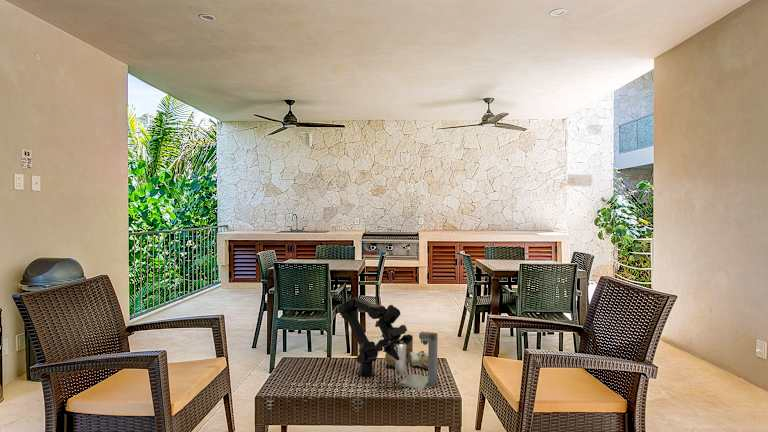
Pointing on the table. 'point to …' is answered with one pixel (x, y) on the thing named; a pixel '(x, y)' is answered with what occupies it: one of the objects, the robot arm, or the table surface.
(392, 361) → the natural sponge
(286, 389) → the table surface
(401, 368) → the cocktail shaker
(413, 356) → the ceramic sculpture
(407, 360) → the brown angular piece
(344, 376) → the table surface
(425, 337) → the press
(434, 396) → the table surface
